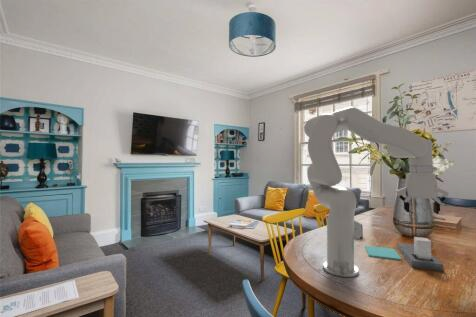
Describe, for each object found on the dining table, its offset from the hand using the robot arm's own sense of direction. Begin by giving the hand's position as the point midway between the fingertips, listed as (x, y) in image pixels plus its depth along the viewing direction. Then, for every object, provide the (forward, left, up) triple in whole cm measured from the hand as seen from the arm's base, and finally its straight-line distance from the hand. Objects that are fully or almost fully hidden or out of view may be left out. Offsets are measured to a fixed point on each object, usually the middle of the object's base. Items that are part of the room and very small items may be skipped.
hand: (421, 212), depth 97 cm
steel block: (0, 0, -21) cm, 21 cm away
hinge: (+31, +26, -21) cm, 45 cm away
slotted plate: (+6, 0, -21) cm, 21 cm away
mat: (+7, +13, -21) cm, 25 cm away
